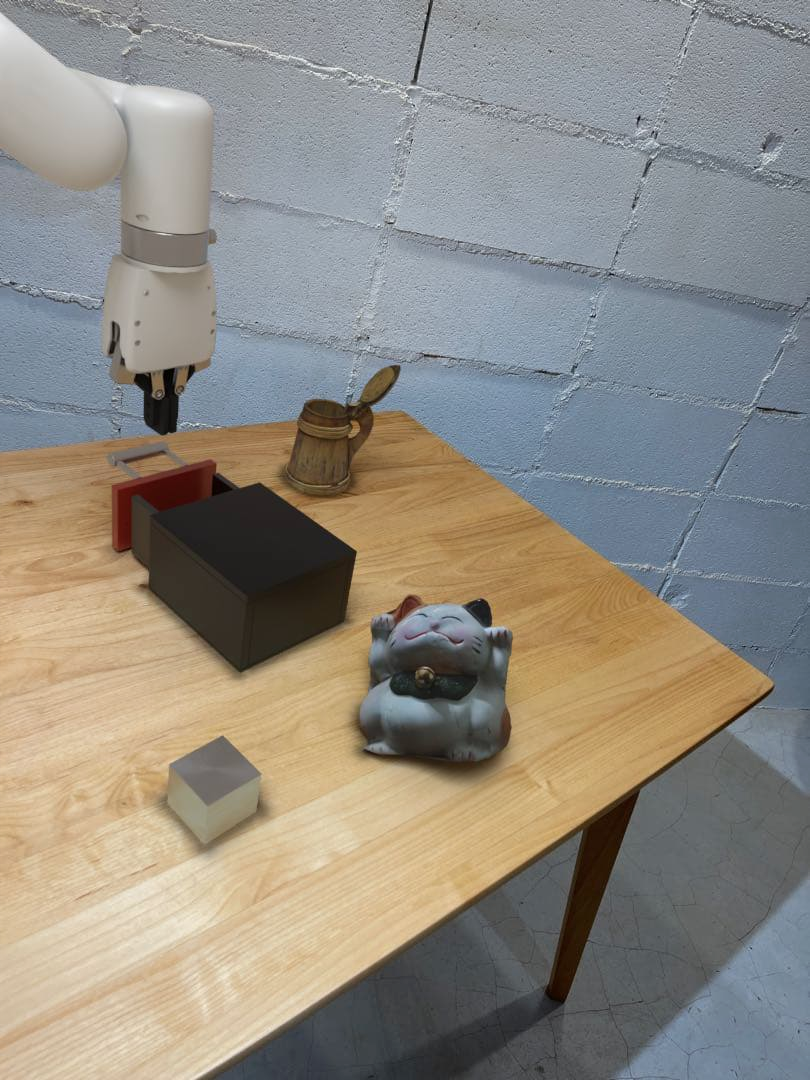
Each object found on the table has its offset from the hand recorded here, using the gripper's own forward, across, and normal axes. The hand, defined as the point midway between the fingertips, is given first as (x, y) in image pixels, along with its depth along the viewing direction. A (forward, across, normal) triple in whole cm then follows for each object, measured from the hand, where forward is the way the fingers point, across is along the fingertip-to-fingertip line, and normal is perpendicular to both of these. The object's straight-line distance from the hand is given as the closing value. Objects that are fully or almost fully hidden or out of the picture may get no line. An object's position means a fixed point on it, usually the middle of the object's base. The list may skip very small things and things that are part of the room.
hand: (160, 428), depth 83 cm
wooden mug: (+17, -30, -3) cm, 34 cm away
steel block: (+16, +16, +31) cm, 39 cm away
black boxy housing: (+16, -2, +12) cm, 21 cm away
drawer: (+15, -3, +1) cm, 16 cm away
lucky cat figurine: (+17, -5, +36) cm, 40 cm away
